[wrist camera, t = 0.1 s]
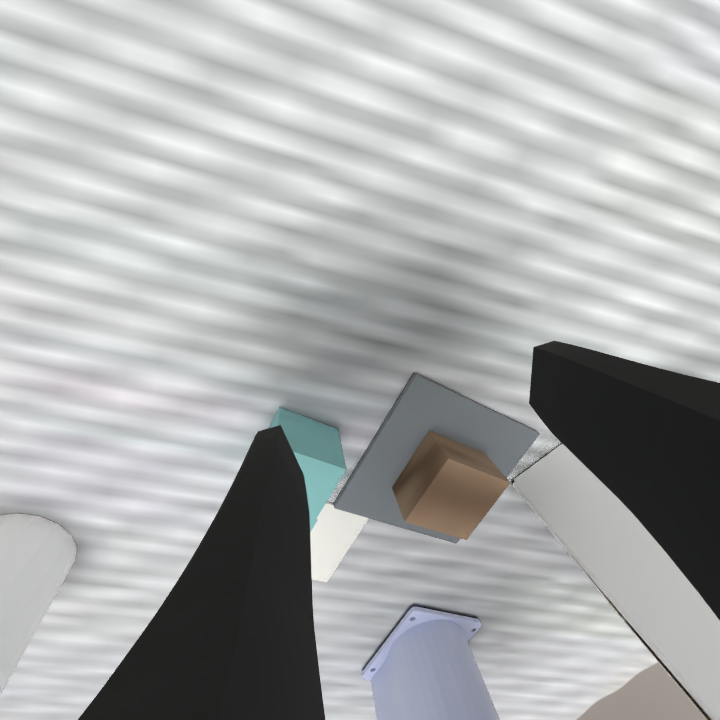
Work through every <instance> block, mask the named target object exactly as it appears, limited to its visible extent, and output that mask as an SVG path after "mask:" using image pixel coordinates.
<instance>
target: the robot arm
mask: <svg viewBox="0 0 720 720" xmlns="http://www.w3.org/2000/svg"><path fill="white" fill-rule="evenodd" d="M529 404H530V405H531V406H532V408H533V409H534V410H535V412H536V413H537V415H538V416H539V417H540V419H541V420H542V421H543V422H544V424H545V425H546V426H547V427H548V428H549V430H550V431H551V432H552V433H553V434H554V435H555V436H556V437H557V438H558V439H559V440H560V441H561V442H562V443H563V444H564V445H565V446H566V447H567V448H568V449H569V450H570V451H571V452H572V453H573V454H574V455H575V456H576V457H577V458H578V459H579V460H580V461H581V462H582V463H583V464H584V465H585V466H586V467H587V468H588V469H589V470H590V471H591V472H592V473H593V474H594V475H595V476H596V477H597V478H598V479H599V480H600V481H601V482H602V483H603V484H604V485H605V486H606V487H607V488H608V489H609V490H610V491H611V492H612V493H613V494H614V495H615V496H616V497H617V498H618V499H619V500H620V501H621V502H622V503H623V504H624V505H625V506H626V507H627V508H628V509H629V510H630V511H631V512H632V513H633V514H634V516H635V517H636V518H637V519H638V520H639V521H640V523H641V524H642V525H643V526H644V527H645V528H646V530H647V531H648V532H649V533H650V534H651V536H652V537H653V538H654V539H655V540H656V541H657V543H658V544H659V545H660V546H661V547H662V548H663V550H664V551H665V552H666V553H667V554H668V556H669V557H670V558H671V559H672V561H673V562H674V563H675V564H676V566H677V567H678V568H679V569H680V571H681V572H682V573H683V574H684V575H685V577H686V578H687V579H688V580H689V582H690V583H691V584H692V585H693V587H694V588H695V589H696V590H697V592H698V593H699V594H700V595H701V597H702V598H703V599H704V601H705V602H706V603H707V605H708V606H709V607H710V608H711V610H712V611H713V612H714V614H715V615H716V616H717V618H718V619H719V620H720V383H717V382H713V381H708V380H704V379H700V378H696V377H691V376H687V375H683V374H679V373H675V372H671V371H667V370H663V369H659V368H656V367H652V366H648V365H644V364H641V363H637V362H633V361H630V360H626V359H622V358H619V357H615V356H612V355H608V354H604V353H601V352H597V351H593V350H590V349H586V348H582V347H578V346H574V345H570V344H566V343H562V342H557V341H552V342H549V343H546V344H543V345H539V346H536V347H534V350H533V362H532V375H531V387H530V400H529ZM480 627H481V622H480V620H479V619H476V618H471V617H466V616H461V615H456V614H451V613H446V612H441V611H436V610H431V609H426V608H421V607H412V608H411V609H410V610H409V611H408V612H407V614H406V615H405V616H404V618H403V619H402V620H401V622H400V623H399V624H398V625H397V627H396V628H395V629H394V631H393V632H392V633H391V635H390V636H389V637H388V639H387V640H386V641H385V643H384V644H383V645H382V646H381V648H380V649H379V650H378V652H377V653H376V654H375V656H374V657H373V658H372V660H371V661H370V662H369V663H368V665H367V666H366V667H365V669H364V670H363V671H362V678H363V679H364V680H371V685H372V691H373V697H374V703H375V709H376V715H377V720H500V719H499V716H498V714H497V712H496V709H495V707H494V704H493V702H492V700H491V697H490V695H489V692H488V690H487V688H486V685H485V683H484V680H483V678H482V676H481V673H480V671H479V669H478V666H477V664H476V661H475V659H474V657H473V654H472V652H471V649H470V647H469V645H468V641H469V640H470V639H471V638H472V637H473V635H474V634H475V633H476V632H477V631H478V630H479V628H480ZM78 720H325V715H324V707H323V699H322V691H321V683H320V675H319V667H318V658H317V649H316V641H315V632H314V621H313V606H312V575H311V543H310V515H309V505H308V498H307V491H306V485H305V478H304V474H303V472H302V470H301V468H300V466H299V463H298V461H297V459H296V457H295V455H294V453H293V450H292V448H291V446H290V444H289V442H288V440H287V438H286V435H285V433H284V431H283V429H282V427H281V425H278V426H275V427H272V428H269V429H265V430H262V431H259V432H258V433H257V434H256V436H255V438H254V440H253V442H252V444H251V446H250V449H249V451H248V453H247V455H246V457H245V459H244V461H243V463H242V466H241V468H240V470H239V472H238V474H237V476H236V478H235V480H234V482H233V484H232V486H231V488H230V490H229V492H228V494H227V496H226V498H225V500H224V502H223V503H222V505H221V507H220V509H219V511H218V513H217V515H216V517H215V518H214V520H213V522H212V524H211V526H210V527H209V529H208V531H207V533H206V534H205V536H204V538H203V540H202V541H201V543H200V545H199V547H198V548H197V550H196V552H195V554H194V555H193V557H192V559H191V560H190V562H189V563H188V565H187V567H186V568H185V570H184V572H183V573H182V575H181V576H180V578H179V580H178V581H177V583H176V584H175V586H174V587H173V589H172V590H171V592H170V593H169V595H168V597H167V598H166V600H165V601H164V603H163V604H162V606H161V607H160V609H159V610H158V612H157V613H156V615H155V616H154V617H153V619H152V620H151V622H150V623H149V625H148V626H147V627H146V629H145V630H144V632H143V633H142V634H141V636H140V637H139V639H138V640H137V641H136V643H135V644H134V645H133V647H132V648H131V650H130V651H129V652H128V654H127V655H126V656H125V658H124V659H123V661H122V662H121V663H120V665H119V666H118V667H117V669H116V670H115V672H114V673H113V674H112V676H111V677H110V678H109V680H108V681H107V683H106V684H105V685H104V687H103V688H102V689H101V691H100V692H99V693H98V695H97V696H96V697H95V698H94V700H93V701H92V702H91V704H90V705H89V706H88V707H87V709H86V710H85V711H84V713H83V714H82V715H81V716H80V718H79V719H78Z"/></svg>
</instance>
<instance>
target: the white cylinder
mask: <svg viewBox="0 0 720 720" xmlns="http://www.w3.org/2000/svg"><path fill="white" fill-rule="evenodd" d="M76 552H77V547H76V544H75V542H74V540H73V538H72V535H71V534H69V533H68V532H67V531H66V530H65V529H64V528H62V527H61V526H60V525H59V524H57V523H55V522H52V521H50V520H47V519H45V518H42V517H40V516H35V515H27V514H19V513H14V514H7V515H0V695H1V693H2V691H3V689H4V687H5V686H6V684H7V682H8V680H9V678H10V677H11V675H12V673H13V671H14V669H15V668H16V666H17V664H18V662H19V660H20V659H21V657H22V655H23V653H24V651H25V650H26V648H27V646H28V644H29V642H30V641H31V639H32V637H33V635H34V633H35V632H36V630H37V628H38V626H39V624H40V623H41V621H42V619H43V617H44V615H45V614H46V612H47V610H48V608H49V606H50V605H51V603H52V601H53V599H54V597H55V596H56V594H57V592H58V590H59V588H60V587H61V585H62V583H63V581H64V579H65V578H66V576H67V574H68V572H69V570H70V569H71V567H72V565H73V563H74V561H75V557H76Z"/></svg>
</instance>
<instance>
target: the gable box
mask: <svg viewBox="0 0 720 720" xmlns="http://www.w3.org/2000/svg"><path fill="white" fill-rule="evenodd" d="M513 480H514V482H513V483H512V485H513V486H514V488H515V489H516V490H517V491H518V493H519V494H520V495H521V496H522V498H523V499H524V500H525V501H526V502H527V504H528V505H529V506H530V507H531V509H532V510H533V511H534V512H535V514H536V515H537V516H538V517H539V518H540V520H541V521H542V522H543V523H544V525H545V526H546V527H547V528H548V529H549V531H550V532H551V533H552V534H553V536H554V537H555V538H556V539H557V541H558V542H559V543H560V544H561V545H562V547H563V548H564V549H565V550H566V552H567V553H568V554H569V555H570V556H571V558H572V559H573V560H574V561H575V563H576V564H577V565H578V566H579V568H580V569H581V570H582V571H583V572H584V574H585V575H586V576H587V577H588V579H589V580H590V581H591V582H592V583H593V585H594V586H595V587H596V588H597V590H598V591H599V592H600V593H601V595H602V596H603V597H604V598H605V599H606V601H607V602H608V603H609V604H610V605H611V607H612V608H613V609H614V610H615V611H616V612H617V614H618V615H619V616H620V617H621V618H622V620H623V621H624V622H625V623H626V624H627V626H628V627H629V628H630V629H631V630H632V631H633V633H634V634H635V635H636V636H637V637H638V639H639V640H640V641H641V642H642V643H643V645H644V646H645V647H646V648H647V649H648V650H649V652H650V653H651V654H652V655H653V656H654V658H655V659H656V660H657V661H658V662H659V664H660V665H661V666H662V667H663V668H664V669H665V671H666V672H667V673H668V674H669V675H670V676H671V678H672V679H673V680H674V681H675V682H676V684H677V685H678V686H679V687H680V688H681V690H682V691H683V692H684V693H685V694H686V696H687V697H688V698H689V699H690V700H691V701H692V703H693V704H694V705H695V706H696V707H697V708H698V710H699V711H700V712H701V713H702V715H703V716H704V717H705V718H706V719H707V720H720V620H719V619H718V618H717V616H716V615H715V614H714V612H713V611H712V610H711V608H710V607H709V606H708V605H707V603H706V602H705V601H704V599H703V598H702V597H701V595H700V594H699V593H698V592H697V590H696V589H695V588H694V587H693V585H692V584H691V583H690V582H689V580H688V579H687V578H686V577H685V575H684V574H683V573H682V572H681V571H680V569H679V568H678V567H677V566H676V564H675V563H674V562H673V561H672V559H671V558H670V557H669V556H668V554H667V553H666V552H665V551H664V550H663V548H662V547H661V546H660V545H659V544H658V543H657V541H656V540H655V539H654V538H653V537H652V536H651V534H650V533H649V532H648V531H647V530H646V528H645V527H644V526H643V525H642V524H641V523H640V521H639V520H638V519H637V518H636V517H635V516H634V514H633V513H632V512H631V511H630V510H629V509H628V508H627V507H626V506H625V505H624V504H623V503H622V502H621V501H620V500H619V499H618V498H617V497H616V496H615V495H614V494H613V493H612V492H611V491H610V490H609V489H608V488H607V487H606V486H605V485H604V484H603V483H602V482H601V481H600V480H599V479H598V478H597V477H596V476H595V475H594V474H593V473H592V472H591V471H590V470H589V469H588V468H587V467H586V466H585V465H584V464H583V463H582V462H581V461H580V460H579V459H578V458H577V457H576V456H575V455H574V454H573V453H572V452H571V451H570V450H569V449H568V448H567V447H566V446H565V445H564V444H563V443H562V444H561V445H559V446H558V447H557V448H555V449H554V450H553V451H551V452H550V453H549V454H547V455H546V456H545V457H543V458H542V459H540V460H539V461H538V462H536V463H535V464H534V465H532V466H531V467H530V468H528V469H527V470H526V471H524V472H523V473H522V474H520V475H519V476H517V477H516V478H515V479H513Z"/></svg>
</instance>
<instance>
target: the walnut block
mask: <svg viewBox="0 0 720 720" xmlns="http://www.w3.org/2000/svg"><path fill="white" fill-rule="evenodd" d="M509 484H510V482H509V481H508V479H507V478H506V477H505V476H504V475H503V474H502V472H501V471H500V470H499V469H498V468H497V467H496V465H495V464H494V463H493V462H492V461H491V460H490V458H489V457H488V456H487V455H486V454H485V453H483V452H481V451H478V450H476V449H473V448H471V447H468V446H466V445H464V444H461V443H459V442H456V441H454V440H452V439H449V438H447V437H444V436H442V435H440V434H437V433H435V432H432V431H430V430H429V432H428V433H427V435H426V436H425V438H424V439H423V441H422V442H421V444H420V445H419V447H418V448H417V450H416V451H415V453H414V454H413V456H412V457H411V459H410V460H409V462H408V463H407V465H406V466H405V468H404V470H403V471H402V473H401V474H400V476H399V477H398V479H397V480H396V482H395V483H394V485H393V486H392V489H393V492H394V495H395V497H396V500H397V503H398V505H399V508H400V511H401V513H402V516H403V519H404V521H405V522H407V523H410V524H414V525H417V526H421V527H424V528H427V529H431V530H434V531H438V532H441V533H444V534H448V535H451V536H454V537H458V538H461V539H465V540H467V538H468V537H469V536H470V535H471V533H472V532H473V531H474V529H475V528H476V527H477V525H478V524H479V523H480V522H481V520H482V519H483V518H484V516H485V515H486V514H487V512H488V511H489V510H490V508H491V507H492V506H493V505H494V503H495V502H496V501H497V499H498V498H499V497H500V495H501V494H502V493H503V492H504V490H505V489H506V488H507V486H508V485H509Z"/></svg>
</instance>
